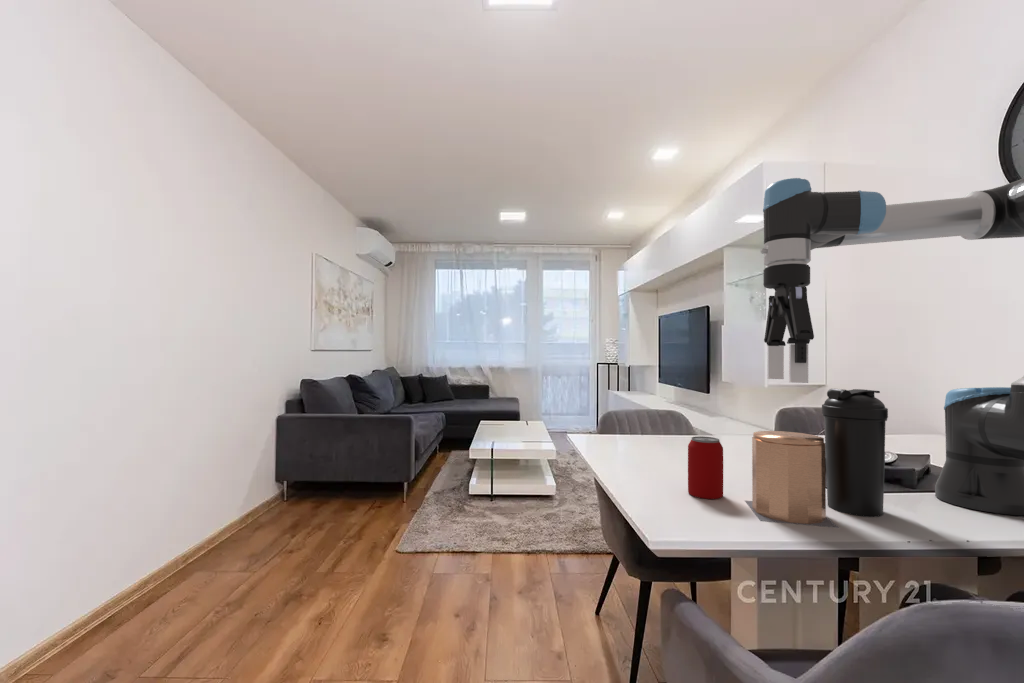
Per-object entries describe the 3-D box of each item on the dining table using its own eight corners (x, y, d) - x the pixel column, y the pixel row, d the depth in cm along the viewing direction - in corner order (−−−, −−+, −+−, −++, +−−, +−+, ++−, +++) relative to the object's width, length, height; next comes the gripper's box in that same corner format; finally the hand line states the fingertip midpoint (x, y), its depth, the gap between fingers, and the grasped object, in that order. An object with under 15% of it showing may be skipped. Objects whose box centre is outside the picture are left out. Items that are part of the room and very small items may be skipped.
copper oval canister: (811, 506, 92) (810, 432, 92) (835, 526, 81) (834, 442, 81) (747, 501, 94) (747, 429, 95) (762, 520, 84) (762, 439, 84)
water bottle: (904, 520, 86) (902, 391, 86) (849, 521, 85) (848, 391, 85) (859, 503, 96) (858, 387, 96) (810, 503, 95) (809, 387, 96)
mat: (812, 508, 92) (812, 505, 92) (838, 530, 80) (839, 527, 80) (744, 503, 95) (744, 500, 95) (760, 523, 83) (760, 520, 83)
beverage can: (717, 493, 102) (717, 436, 102) (728, 503, 95) (728, 442, 95) (684, 492, 102) (684, 435, 103) (692, 501, 95) (692, 441, 96)
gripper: (748, 277, 102) (748, 377, 101) (784, 252, 78) (784, 383, 77) (787, 276, 100) (787, 378, 99) (837, 250, 76) (837, 385, 75)
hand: (786, 380), depth 88 cm, fingers open, 13 cm apart
